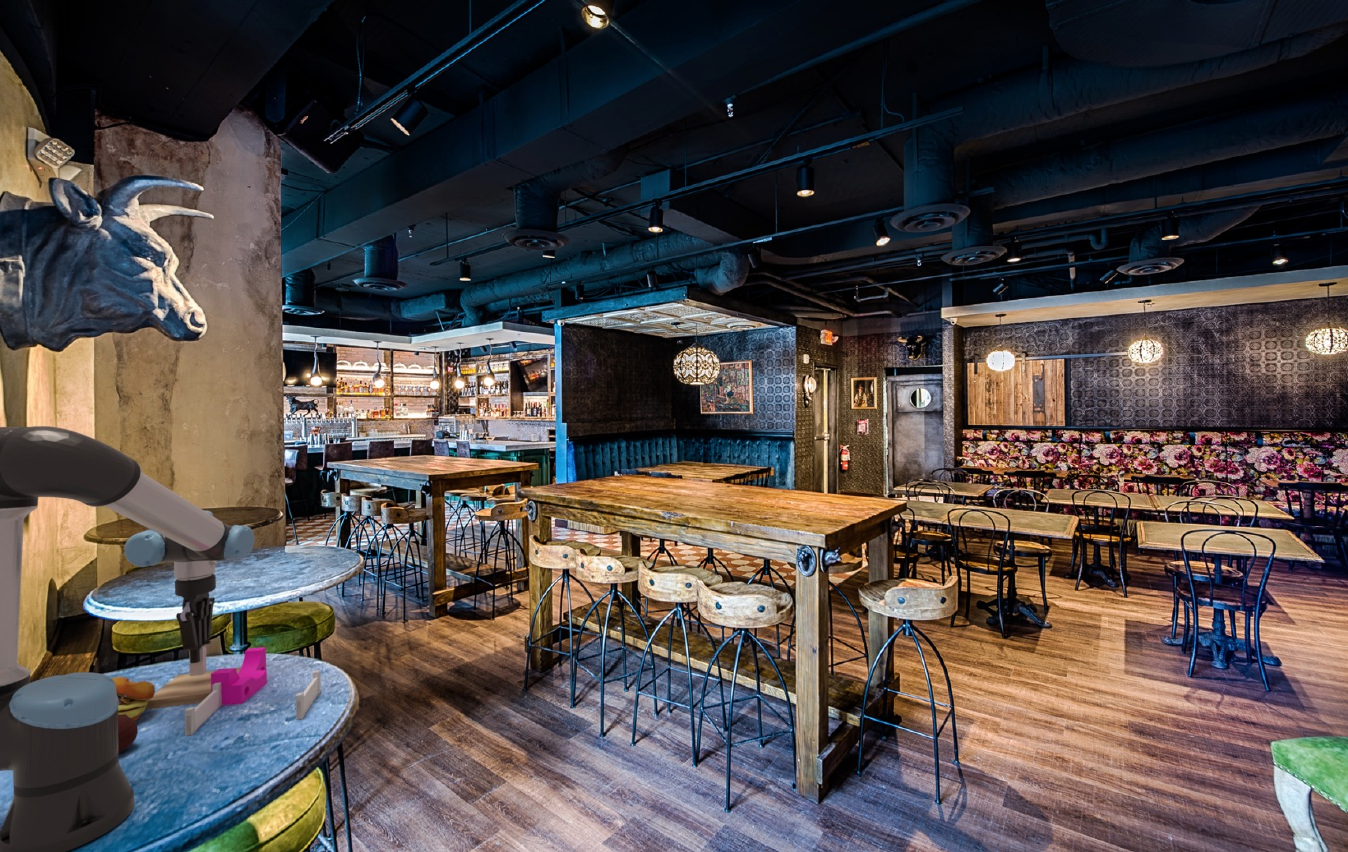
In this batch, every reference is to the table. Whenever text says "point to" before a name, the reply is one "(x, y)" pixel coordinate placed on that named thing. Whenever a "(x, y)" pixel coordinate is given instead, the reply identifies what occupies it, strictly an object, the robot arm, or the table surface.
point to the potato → (126, 732)
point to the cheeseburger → (133, 696)
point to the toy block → (242, 677)
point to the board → (183, 691)
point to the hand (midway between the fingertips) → (198, 674)
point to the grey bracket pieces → (214, 701)
